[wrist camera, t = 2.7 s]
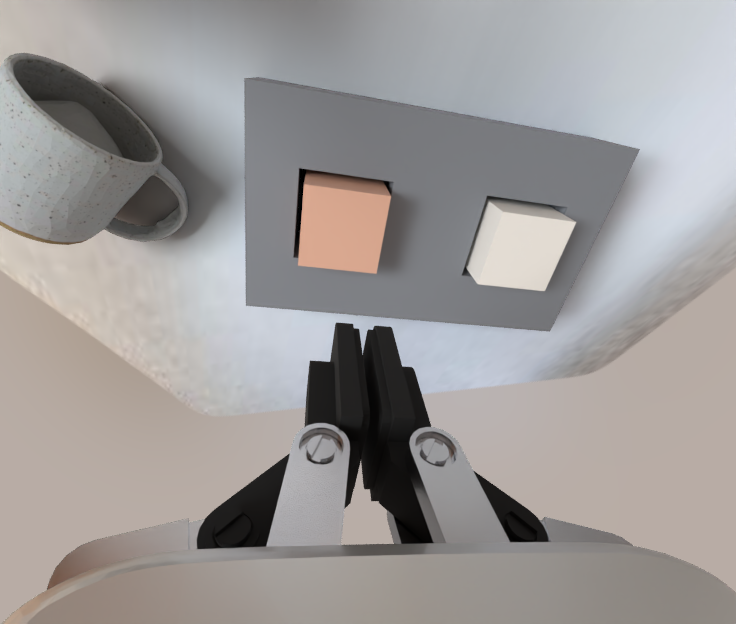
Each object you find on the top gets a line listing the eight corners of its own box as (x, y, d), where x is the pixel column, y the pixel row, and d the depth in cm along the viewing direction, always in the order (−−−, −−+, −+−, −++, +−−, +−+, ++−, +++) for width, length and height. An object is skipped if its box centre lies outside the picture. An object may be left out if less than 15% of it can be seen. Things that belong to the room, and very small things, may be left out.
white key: (540, 200, 28) (576, 222, 24) (515, 262, 31) (544, 291, 27) (476, 191, 27) (503, 212, 23) (457, 255, 30) (477, 284, 26)
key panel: (592, 137, 28) (639, 149, 24) (522, 300, 35) (549, 331, 31) (258, 77, 24) (244, 78, 20) (256, 274, 31) (245, 305, 27)
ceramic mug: (5, 153, 25) (-101, 184, 19) (64, 50, 23) (-36, 45, 16) (156, 255, 30) (112, 307, 24) (218, 180, 27) (188, 215, 21)
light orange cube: (380, 177, 26) (391, 196, 22) (369, 245, 29) (376, 273, 25) (307, 166, 25) (303, 184, 21) (301, 237, 28) (297, 265, 24)
